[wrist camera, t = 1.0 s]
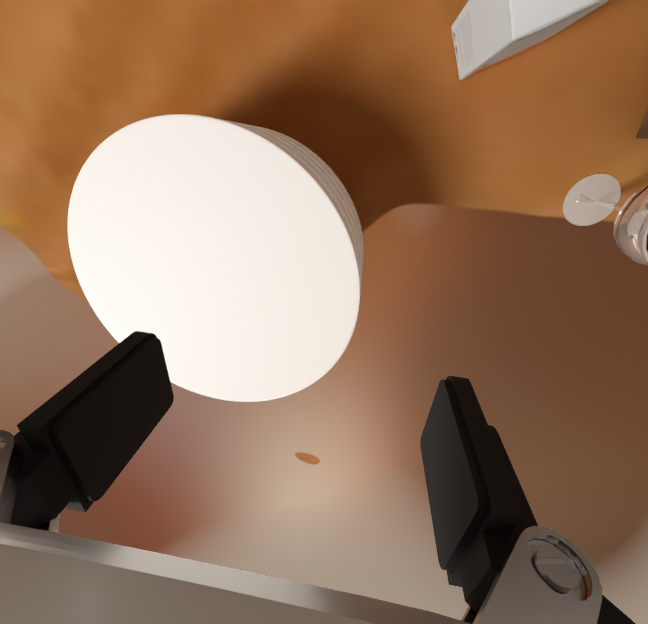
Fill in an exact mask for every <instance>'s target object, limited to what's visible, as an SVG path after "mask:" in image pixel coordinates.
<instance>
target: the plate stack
mask: <svg viewBox="0 0 648 624" xmlns="http://www.w3.org/2000/svg"><path fill="white" fill-rule="evenodd" d="M68 240H69V247H70V253H71V258H72V262H73V265H74V269H75V272H76V275H77V278H78V280H79V283H80V285H81V287H82V290H83V292H84V294H85V296H86V298H87V300H88V302H89V303H90V305H91V307H92V309H93V310H94V312H95V313H96V315H97V316H98V318H99V319H100V321H101V322H102V323H103V325H104V326H105V327H106V329H107V330H108V331H109V332H110V334H111V335H112V336H113V337H114V338H115V339H116V340H117V341H118V342H119V343H120V342H122V341H123V340H124V339H125V338H127V337H128V336H129V335H130V334H132V333H133V332H135V331H140V332H147V333H153V334H155V335H156V336H157V338H158V339H159V340H160V341H161V344H162V349H163V353H164V357H165V362H166V366H167V370H168V375H169V379H170V382H172V383H174V384H176V385H178V386H180V387H182V388H185V389H187V390H190V391H192V392H195V393H198V394H201V395H204V396H208V397H213V398H217V399H222V400H229V401H239V402H240V401H241V402H256V401H266V400H272V399H277V398H281V397H284V396H287V395H290V394H293V393H296V392H298V391H300V390H302V389H304V388H306V387H308V386H309V385H311V384H313V383H314V382H316V381H317V380H318V379H320V378H321V377H322V376H323V375H325V374H326V373H327V372H328V371H329V370H330V369H331V368H332V367H333V365H334V364H335V363H336V362H337V361H338V359H339V358H340V357H341V355H342V354H343V352H344V351H345V349H346V347H347V345H348V343H349V341H350V339H351V337H352V334H353V332H354V329H355V326H356V322H357V318H358V313H359V306H360V295H361V285H362V274H363V263H364V243H363V242H364V241H363V234H362V229H361V224H360V221H359V217H358V214H357V211H356V209H355V206H354V204H353V202H352V199H351V197H350V195H349V194H348V192H347V190H346V188H345V187H344V185H343V184H342V182H341V181H340V179H339V178H338V177H337V175H336V174H335V173H334V172H333V170H332V169H331V168H330V167H329V166H328V165H327V164H326V163H325V162H324V161H323V160H322V159H321V158H320V157H319V156H318V155H316V154H315V153H314V152H313V151H311V150H310V149H309V148H307V147H306V146H304V145H303V144H301V143H300V142H298V141H296V140H295V139H293V138H291V137H289V136H287V135H284V134H282V133H279V132H277V131H274V130H270V129H267V128H263V127H258V126H253V125H248V124H243V123H238V122H233V121H228V120H222V119H217V118H212V117H207V116H200V115H191V114H170V115H161V116H156V117H151V118H147V119H143V120H140V121H137V122H135V123H132V124H130V125H128V126H126V127H124V128H122V129H120V130H118V131H117V132H115V133H114V134H112V135H111V136H109V137H108V138H107V139H106V140H104V141H103V142H102V143H101V144H100V145H99V146H98V147H97V148H96V149H95V150H94V151H93V153H92V154H91V155H90V156H89V158H88V159H87V161H86V162H85V164H84V165H83V167H82V169H81V171H80V173H79V175H78V177H77V179H76V182H75V184H74V187H73V191H72V194H71V198H70V203H69V210H68Z"/></svg>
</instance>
